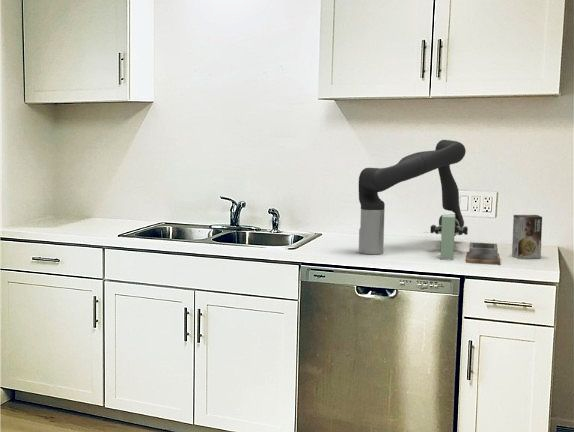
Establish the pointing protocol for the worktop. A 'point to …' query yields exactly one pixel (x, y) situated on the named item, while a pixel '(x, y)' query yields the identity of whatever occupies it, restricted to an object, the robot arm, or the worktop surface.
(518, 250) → the coffee box
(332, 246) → the worktop surface
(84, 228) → the worktop surface
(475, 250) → the gray frame wooden base
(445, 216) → the block
